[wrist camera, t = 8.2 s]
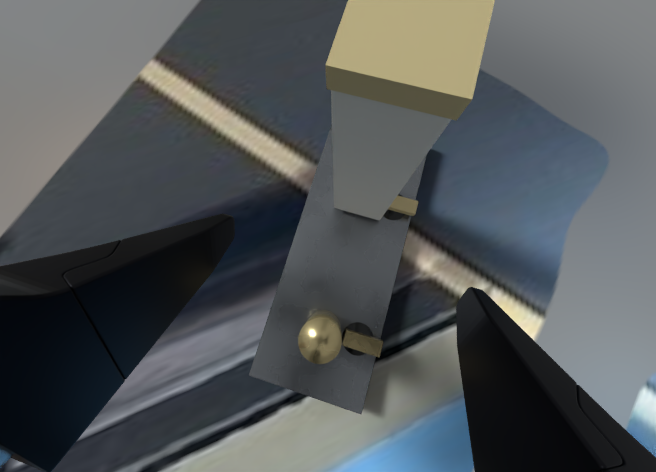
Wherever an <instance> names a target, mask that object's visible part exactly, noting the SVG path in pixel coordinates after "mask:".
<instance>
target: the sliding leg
mask: <svg viewBox="0 0 656 472" xmlns="http://www.w3.org/2000/svg"><path fill="white" fill-rule="evenodd" d="M494 1H495V0H348V3H347V5H346V8H345V11H344V14H343V17H342V20H341V22H340V25H339V28H338V31H337V34H336V37H335V40H334V42H333V45H332V48H331V51H330V54H329V57H328V60H327V62H326V85H327V89H329V90H331V105H332V146H333V187H334V208H337V209H340V210H344V211H347V212H351V213H354V214H358V215H361V216H365V217H369V218H372V219H376V220H379V221H380V219H381V218H382V217H383V215H384V214H385V212H386V211H387V209H388V210H392V211H395V212H399V213H403V214H406V215H410V216H414V215H415V214H416V210H417V206H418V202H419V201H416V200H412V199H409V198H405V197H401V196H398V194H399V193H400V191H401V190H402V188H403V187H404V186H405V184H406V183H407V181H408V180H409V178H410V177H411V176H412V174H413V173H414V171H415V170H416V169H417V167H418V166H419V164H420V163H421V162H422V160H423V159H424V157H425V156H426V155H427V153H428V152H429V150H430V149H431V147H432V146H433V145H434V143H435V142H436V140H437V139H438V138H439V136H440V135H441V133H442V132H443V131H444V129H445V128H446V126H447V125H448V124H449V122H450V121H451V119H452V120H457V119H458V118H459V116H460V115H461V114H462V112H463V111H464V110H465V108H466V107H467V106H468V104H469V103H470V102H471V100H472V98H473V93H474V89H475V85H476V80H477V76H478V72H479V67H480V63H481V58H482V54H483V49H484V45H485V41H486V36H487V32H488V28H489V23H490V19H491V14H492V10H493V5H494Z"/></svg>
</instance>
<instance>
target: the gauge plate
mask: <svg viewBox="0 0 656 472" xmlns="http://www.w3.org/2000/svg"><path fill="white" fill-rule="evenodd" d="M426 156H427V155H426ZM426 156H425V157H424V159H423V160H422V162H421V163H420V164H419V166H418V167H417V169H416V170H415V171H414V173H413V174H412V176H411V177H410V178H409V180H408V181H407V183H406V184H405V186H404V187H403V188H402V190H401V191H400V193H399V194H398V196H401V197H405V198H409V199H412V200H415V199H416V196H417V192H418V188H419V184H420V180H421V176H422V172H423V168H424V164H425V160H426ZM410 219H411V216H410V215H406V214H403V213H399V212H395V211H392V210H388V209H387V211H386V212H385V214H384V215H383V217H382V218H381V219H380V221H379V220H376V219H372V218H369V217H365V216H361V215H358V214H354V213H351V212H347V211H344V210H340V209H337V208H334V187H333V146H332V125H331V128H330V131H329V134H328V137H327V140H326V143H325V146H324V149H323V152H322V155H321V158H320V161H319V164H318V167H317V170H316V173H315V176H314V179H313V182H312V186H311V189H310V192H309V195H308V198H307V201H306V204H305V207H304V210H303V213H302V216H301V219H300V222H299V225H298V228H297V231H296V234H295V237H294V240H293V243H292V246H291V249H290V252H289V255H288V258H287V261H286V264H285V267H284V270H283V273H282V276H281V279H280V282H279V285H278V289H277V292H276V295H275V298H274V301H273V304H272V307H271V310H270V313H269V316H268V319H267V322H266V325H265V328H264V331H263V334H262V337H261V340H260V343H259V346H258V349H257V352H256V355H255V358H254V361H253V364H252V367H251V370H250V373H249V375H250V376H252V377H255V378H258V379H261V380H264V381H267V382H270V383H273V384H275V385H278V386H281V387H284V388H287V389H290V390H293V391H295V392H298V393H301V394H304V395H307V396H310V397H313V398H316V399H318V400H321V401H324V402H327V403H330V404H333V405H336V406H339V407H341V408H344V409H347V410H350V411H353V412H356V413H359V414H361V413H362V409H363V405H364V402H365V398H366V394H367V390H368V386H369V382H370V378H371V374H372V370H373V366H374V362H375V358H376V357H379V358H380V354H381V350H382V346H383V341H382V340H381V339H380V338H381V334H382V330H383V326H384V322H385V318H386V314H387V310H388V306H389V302H390V299H391V295H392V291H393V287H394V283H395V279H396V275H397V271H398V267H399V263H400V259H401V255H402V251H403V247H404V243H405V239H406V235H407V231H408V227H409V223H410Z"/></svg>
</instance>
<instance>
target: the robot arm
mask: <svg viewBox="0 0 656 472" xmlns="http://www.w3.org/2000/svg"><path fill="white" fill-rule="evenodd" d="M234 235H235V229H234V218H233V217H232V216H229V215H226V214H219V215H216V216H212V217H208V218H204V219H200V220H196V221H192V222H188V223H184V224H180V225H177V226H173V227H169V228H165V229H161V230H157V231H153V232H149V233H145V234H141V235H137V236H134V237H130V238H126V239H122V240H118V241H114V242H110V243H106V244H102V245H98V246H94V247H90V248H85V249H81V250H76V251H71V252H67V253H62V254H57V255H52V256H47V257H43V258H38V259H33V260H28V261H23V262H18V263H13V264H8V265H3V266H0V468H1V467H2V466H3V465H4V464H5V463H6V462H7V461H8V460H9V459H10V458H13V459H15V460H18V461H20V462H23V463H25V464H27V465H30V466H32V467H35V468H37V469H40V470H42V471H44V472H51V471H52V470H53V469H54V468H55V467H56V466H57V464H58V463H59V462H60V461H61V460H62V458H63V457H64V456H65V455H66V453H67V452H68V451H69V450H70V448H71V447H72V446H73V445H74V443H75V442H76V441H77V440H78V438H79V437H80V436H81V435H82V433H83V432H84V431H85V430H86V428H87V427H88V426H89V425H90V424H91V422H92V421H93V420H94V419H95V417H96V416H97V415H98V414H99V412H100V411H101V410H102V409H103V407H104V406H105V405H106V404H107V402H108V401H109V400H110V399H111V397H112V396H113V395H114V394H115V393H116V391H117V390H118V389H119V388H120V386H121V385H122V384H123V383H124V381H125V379H127V377H128V376H129V375H130V374H131V372H132V371H133V370H134V369H135V367H136V366H137V365H138V364H139V362H140V361H141V360H142V359H143V357H144V356H145V355H146V354H147V352H148V351H149V350H150V349H151V348H152V346H153V345H154V344H155V343H156V341H157V340H158V339H159V338H160V336H161V335H162V334H163V333H164V331H165V330H166V329H167V328H168V326H169V325H170V324H171V323H172V321H173V320H174V319H175V318H176V316H177V315H178V314H179V313H180V312H181V310H182V309H183V308H184V307H185V305H186V304H187V303H188V302H189V300H190V299H191V298H192V297H193V295H194V294H195V293H196V292H197V290H198V289H199V288H200V287H201V285H202V284H203V283H204V282H205V280H206V279H207V278H208V277H209V276H210V274H211V273H212V272H213V270H214V269H215V267H216V266H217V264H218V263H219V261H220V260H221V258H222V257H223V255H224V253H225V252H226V250H227V249H228V247H229V245H230V244H231V242H232V241H233V239H234ZM456 312H457V347H458V355H459V363H460V370H461V377H462V384H463V391H464V398H465V405H466V412H467V419H468V426H469V434H470V441H471V448H472V455H473V462H474V469H475V472H656V457H655V456H653V455H652V454H651V453H650V452H649V451H648V450H647V449H646V448H645V447H644V446H642V445H641V444H640V443H639V442H638V441H637V440H636V439H635V438H634V437H633V436H632V435H630V434H629V433H628V432H627V431H626V430H625V429H624V428H623V427H622V426H621V425H620V424H619V423H617V422H616V421H615V420H614V419H613V418H612V417H611V416H610V415H609V414H608V413H607V412H606V411H605V410H604V409H603V408H602V407H601V406H600V405H599V404H598V403H597V402H595V401H594V400H593V399H592V398H591V397H590V396H589V395H588V394H587V393H586V392H585V391H584V390H583V389H582V388H581V387H580V386H579V385H576V382H575V381H574V380H573V379H572V378H571V377H570V376H569V375H568V374H567V373H566V372H565V371H564V370H563V369H562V368H561V367H560V366H559V365H558V364H557V363H556V362H555V361H554V360H553V359H552V358H551V357H550V356H549V355H548V354H547V353H546V352H545V351H544V350H543V349H542V348H541V347H540V346H539V345H538V344H537V343H536V342H535V341H534V340H533V339H532V338H531V337H530V336H528V335H527V334H526V333H525V332H524V331H523V330H522V329H521V328H520V327H519V326H518V325H517V324H516V323H515V322H514V321H513V320H512V319H511V318H510V317H509V316H508V315H507V314H506V313H505V312H504V311H503V310H502V309H501V308H500V307H499V306H498V305H497V304H496V303H495V302H494V301H493V300H492V299H491V298H490V297H489V296H488V295H487V294H486V293H485V292H484V291H483V290H480V289H477V288H473V287H470V288H468V289H467V290H466V292H465V293H464V294H463V296H462V297H461V298H460V300H459V301H458V303H457V307H456Z"/></svg>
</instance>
